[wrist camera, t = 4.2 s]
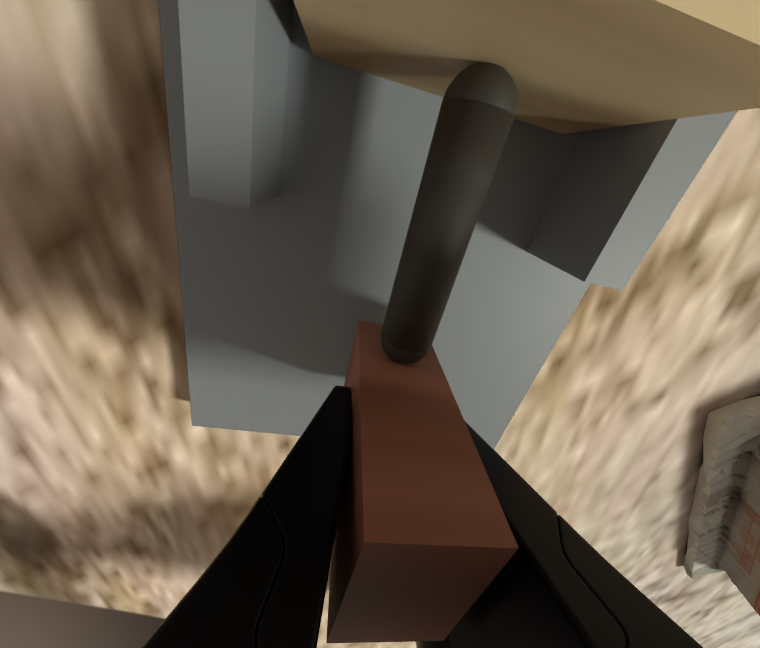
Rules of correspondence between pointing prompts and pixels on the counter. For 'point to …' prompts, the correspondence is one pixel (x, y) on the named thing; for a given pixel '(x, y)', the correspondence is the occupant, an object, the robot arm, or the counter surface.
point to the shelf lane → (377, 220)
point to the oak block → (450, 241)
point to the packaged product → (729, 500)
